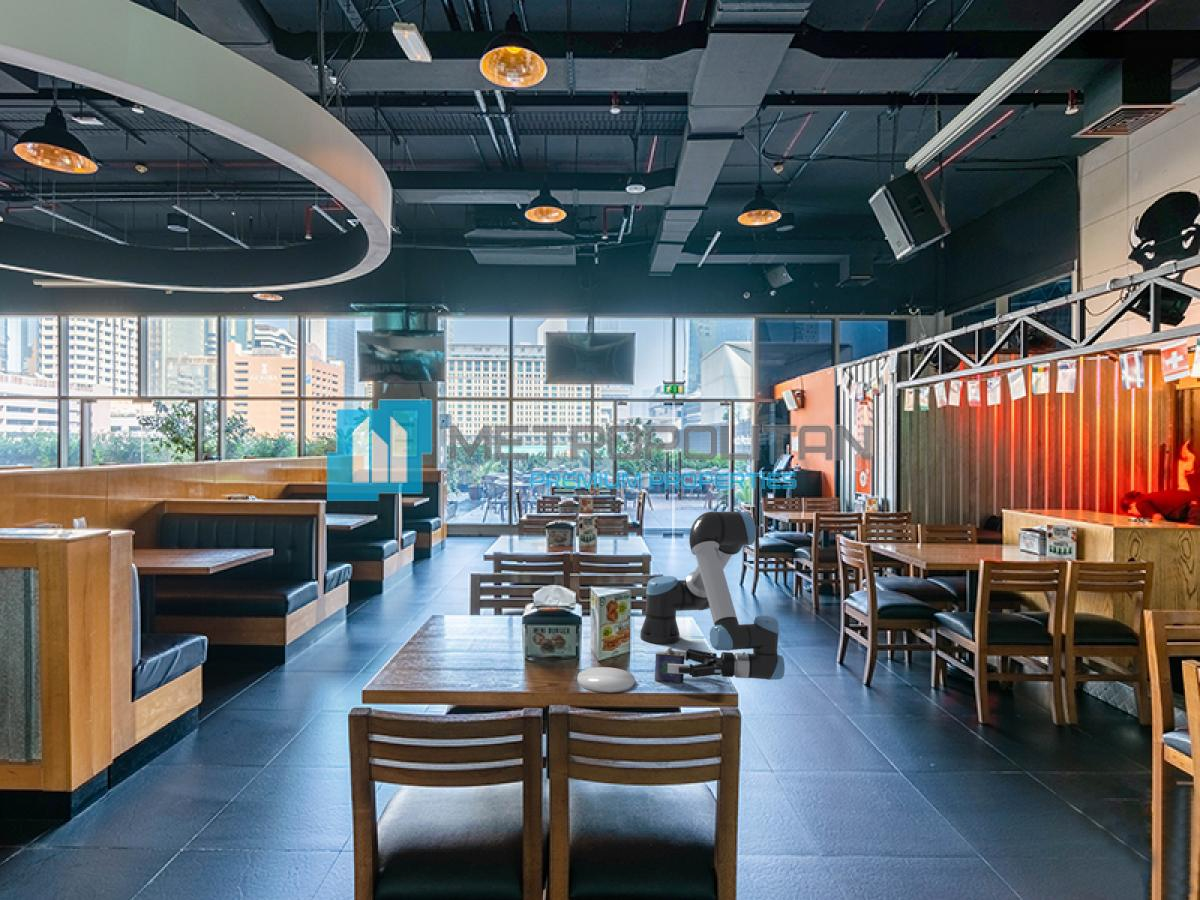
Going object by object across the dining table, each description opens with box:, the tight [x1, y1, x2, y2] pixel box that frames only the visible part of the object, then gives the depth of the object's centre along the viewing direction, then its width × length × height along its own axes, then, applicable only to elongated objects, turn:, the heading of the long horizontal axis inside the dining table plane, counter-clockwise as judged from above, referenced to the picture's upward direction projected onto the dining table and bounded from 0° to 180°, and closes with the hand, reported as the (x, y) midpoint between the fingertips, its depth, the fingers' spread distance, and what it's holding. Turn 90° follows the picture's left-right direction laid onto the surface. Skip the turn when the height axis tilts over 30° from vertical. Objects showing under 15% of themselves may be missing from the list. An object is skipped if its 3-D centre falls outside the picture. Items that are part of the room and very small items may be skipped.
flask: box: [654, 647, 685, 684], centre depth 221 cm, size 9×3×11 cm, turn 83°
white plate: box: [577, 666, 635, 693], centre depth 219 cm, size 18×18×2 cm
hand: (666, 661), depth 221 cm, fingers open, 13 cm apart
